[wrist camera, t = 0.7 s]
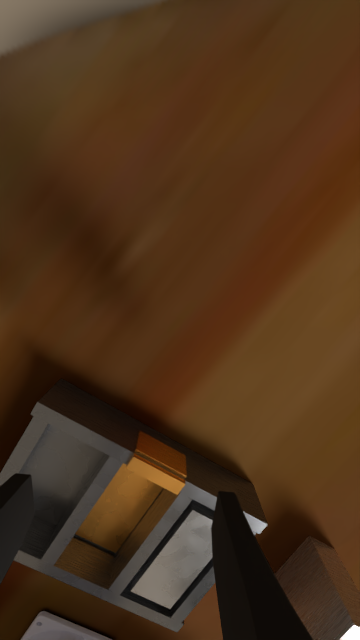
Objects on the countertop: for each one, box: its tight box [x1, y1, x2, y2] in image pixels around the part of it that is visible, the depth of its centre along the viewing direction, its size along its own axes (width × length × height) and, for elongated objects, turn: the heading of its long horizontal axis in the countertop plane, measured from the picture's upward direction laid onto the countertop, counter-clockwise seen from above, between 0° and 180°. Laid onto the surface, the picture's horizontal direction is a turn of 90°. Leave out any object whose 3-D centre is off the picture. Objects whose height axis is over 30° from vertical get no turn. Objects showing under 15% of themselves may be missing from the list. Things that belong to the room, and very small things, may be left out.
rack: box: [0, 379, 268, 632], centre depth 20 cm, size 12×18×4 cm
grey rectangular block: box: [275, 536, 360, 640], centre depth 21 cm, size 8×3×6 cm, turn 147°
